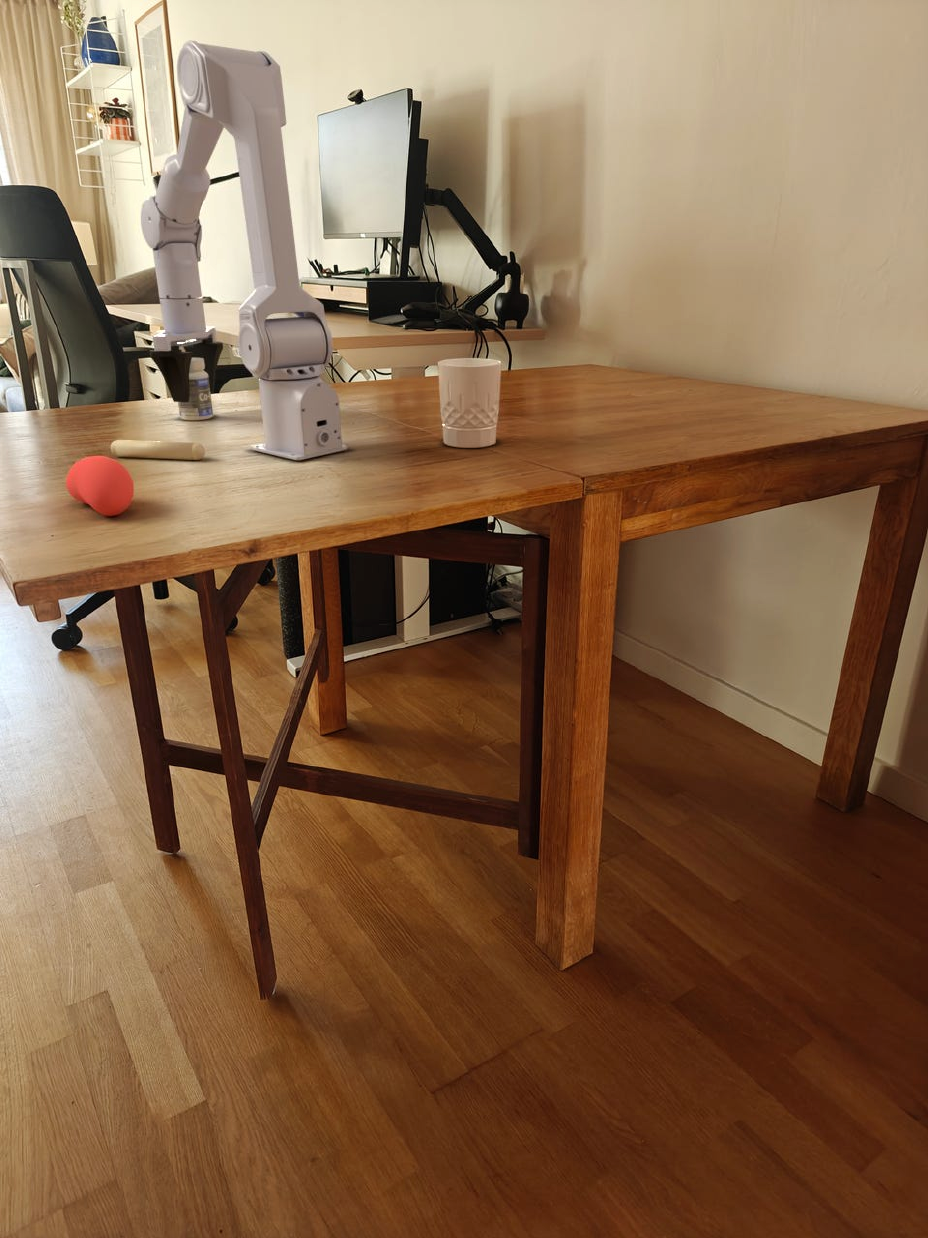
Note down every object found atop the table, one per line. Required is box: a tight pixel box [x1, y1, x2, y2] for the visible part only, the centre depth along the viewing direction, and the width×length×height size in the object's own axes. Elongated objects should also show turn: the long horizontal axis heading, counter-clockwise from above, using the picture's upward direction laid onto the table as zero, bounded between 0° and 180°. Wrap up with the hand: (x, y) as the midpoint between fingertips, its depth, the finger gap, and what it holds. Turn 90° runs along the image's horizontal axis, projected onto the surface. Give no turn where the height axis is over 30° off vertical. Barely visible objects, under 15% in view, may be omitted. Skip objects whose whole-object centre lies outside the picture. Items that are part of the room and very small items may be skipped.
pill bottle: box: [177, 358, 214, 421], centre depth 121 cm, size 5×5×8 cm
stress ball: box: [65, 455, 135, 517], centre depth 80 cm, size 5×9×6 cm
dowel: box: [110, 439, 206, 461], centre depth 99 cm, size 12×2×2 cm, turn 79°
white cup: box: [437, 357, 502, 449], centre depth 105 cm, size 8×8×10 cm
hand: (194, 397), depth 122 cm, fingers open, 7 cm apart
